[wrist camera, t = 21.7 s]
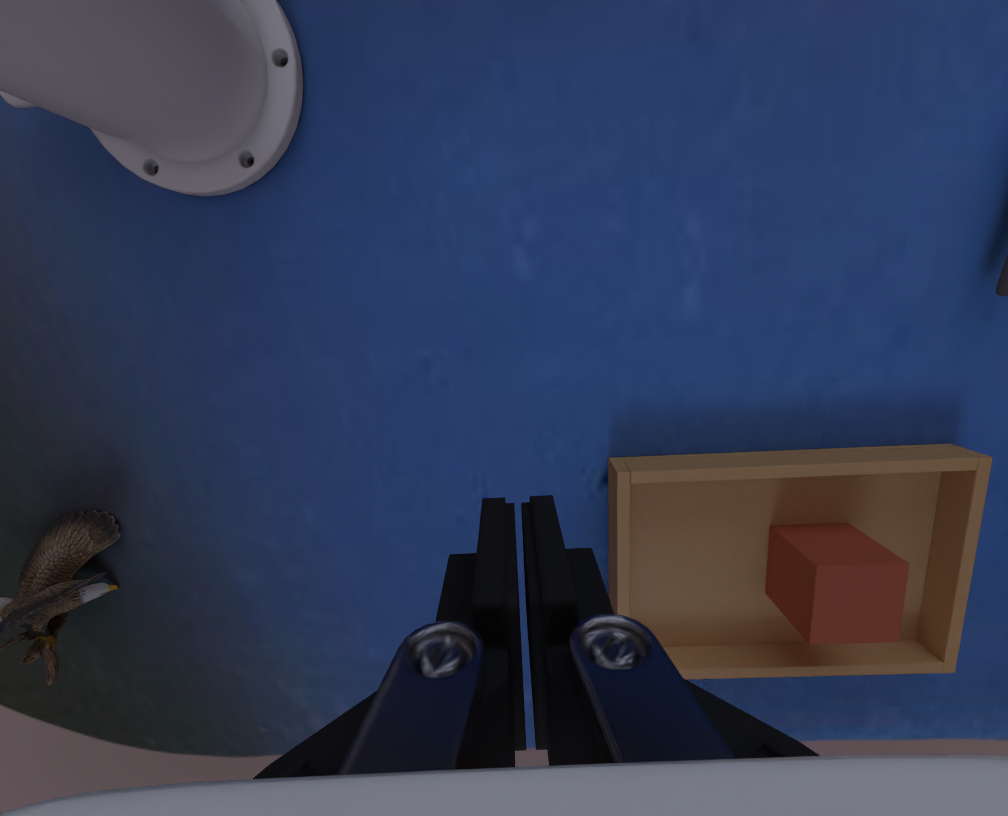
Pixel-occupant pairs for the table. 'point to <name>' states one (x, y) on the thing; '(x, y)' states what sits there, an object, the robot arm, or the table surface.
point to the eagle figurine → (56, 583)
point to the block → (836, 583)
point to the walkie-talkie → (1003, 280)
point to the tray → (744, 551)
